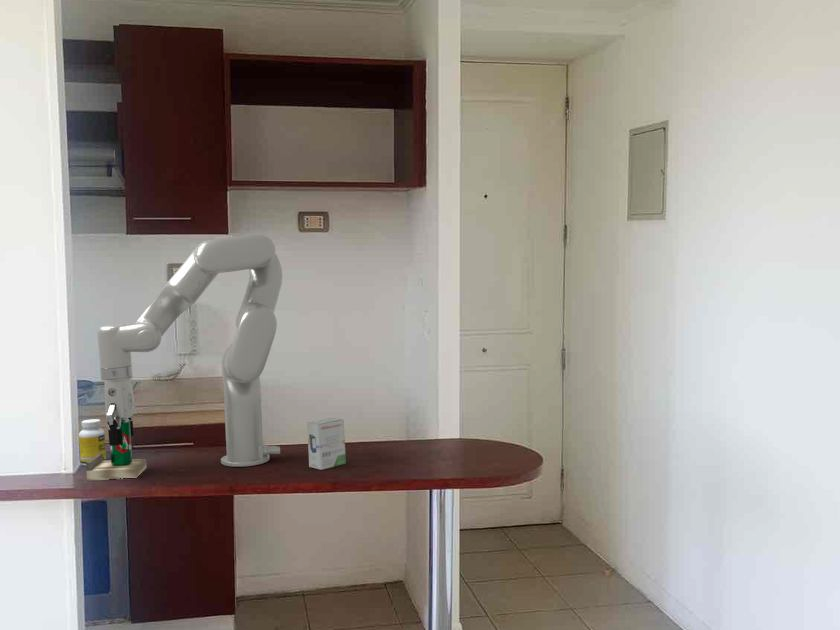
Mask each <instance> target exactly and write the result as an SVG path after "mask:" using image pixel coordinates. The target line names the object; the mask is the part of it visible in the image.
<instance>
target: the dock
mask: <svg viewBox="0 0 840 630" xmlns="http://www.w3.org/2000/svg"><path fill="white" fill-rule="evenodd" d="M146 468H147V458H140V459H139V458H137V459H132V462H131V464H129V465H126V466H113V465H112V464H111V459H110V460H106V461H103V453H98V454H97V455H96V456H94V457H93V458H92V459H90V460H89V461H88V462H87V463H86V480H87V482H89V481H90V482H92V481H93V482H94V481H110V480H109V479H116V480H124V479H123V478H137V477H138V476H139V475H140V474H141V473H142V472H143V471H144V470H145V469H146ZM147 469H148V468H147ZM147 469H146V470H147ZM146 470H145V471H146ZM145 471H144V472H145ZM142 474H143V473H142ZM142 474H141V475H142ZM141 475H140V476H141ZM140 476H139V477H140ZM139 477H138V478H139ZM120 478H121V479H120ZM138 478H137V479H138Z"/></svg>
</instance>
